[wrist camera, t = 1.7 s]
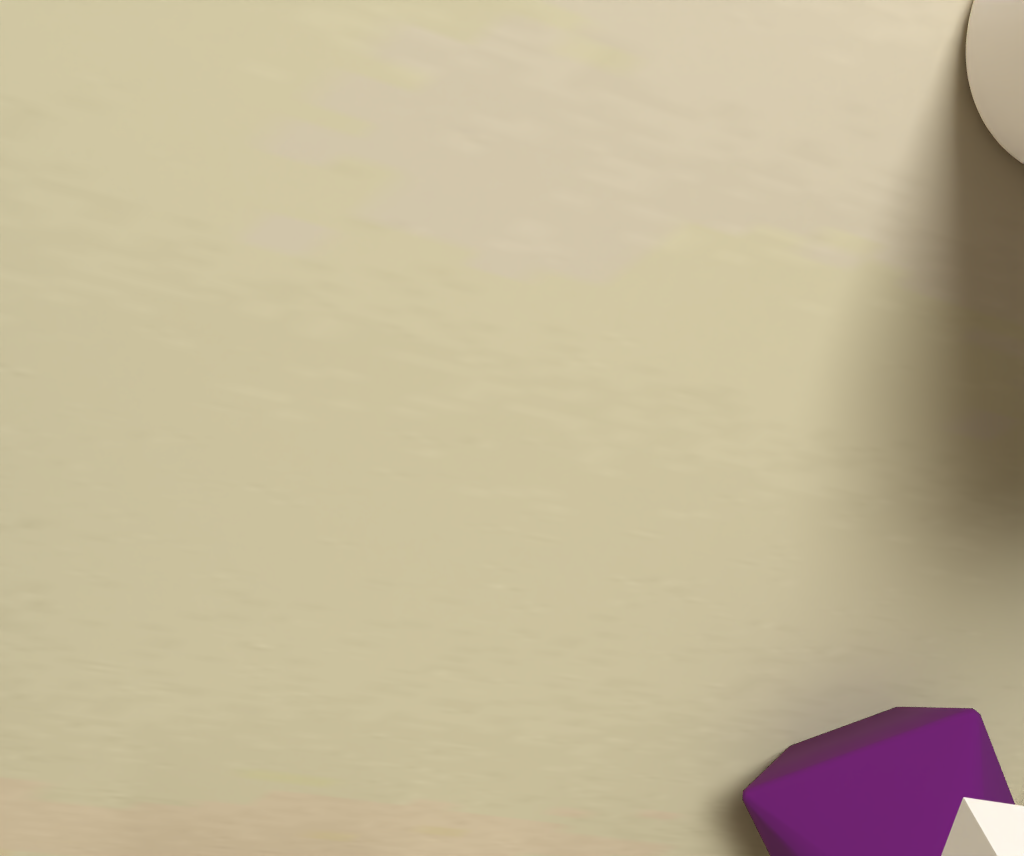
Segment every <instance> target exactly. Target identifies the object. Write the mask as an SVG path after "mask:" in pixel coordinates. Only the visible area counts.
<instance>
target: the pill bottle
mask: <svg viewBox="0 0 1024 856" xmlns="http://www.w3.org/2000/svg"><path fill="white" fill-rule="evenodd" d="M966 66H967V75H968V81H969V85H970V90H971V93H972V97H973V100H974V102H975V105H976V107H977V110H978V112H979V114H980V116H981V118H982V120H983V122H984V124H985V125H986V127H987V128H988V130H989V131H990V133H991V134H992V135H993V137H994V138H995V139H996V140H997V142H998V143H999V144H1000V145H1001V146H1002V147H1003V148H1004V149H1005V150H1006V151H1007V152H1008V153H1009V154H1011V155H1012V156H1013V157H1014V158H1016V159H1017V160H1018V161H1020V162H1021V163H1023V164H1024V0H974V1H973V5H972V9H971V13H970V17H969V22H968V29H967V38H966Z"/></svg>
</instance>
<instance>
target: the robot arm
mask: <svg viewBox="0 0 1024 856" xmlns="http://www.w3.org/2000/svg"><path fill="white" fill-rule="evenodd" d="M941 856H1024V806H1020V805H1013V804H1006V803H999V802H993V801H986V800H979V799H973V798H966V797H963V799H962V802H961V805H960V807H959V810H958V812H957V815H956V818H955V820H954V823H953V826H952V828H951V831H950V834H949V836H948V839H947V842H946V844H945V847H944V849H943V852H942V855H941Z"/></svg>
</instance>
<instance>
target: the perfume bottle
mask: <svg viewBox="0 0 1024 856" xmlns="http://www.w3.org/2000/svg"><path fill="white" fill-rule="evenodd" d="M963 797H966V798H973V799H979V800H986V801H993V802H999V803H1006V804H1013V805H1015V803H1014V801H1013V798H1012V795H1011V793H1010V790H1009V788H1008V785H1007V783H1006V780H1005V777H1004V775H1003V772H1002V770H1001V767H1000V764H999V762H998V759H997V757H996V754H995V752H994V749H993V746H992V744H991V741H990V739H989V736H988V733H987V731H986V728H985V726H984V723H983V721H982V718H981V715H980V714H979V713H978V712H977V711H976V710H974V709H973V708H927V707H895V708H893V709H890V710H887V711H884V712H882V713H879V714H876V715H873V716H871V717H868V718H865V719H862V720H860V721H857V722H854V723H851V724H849V725H846V726H843V727H841V728H838V729H835V730H832V731H830V732H827V733H824V734H821V735H819V736H816V737H813V738H810V739H808V740H805V741H802V742H799V743H797V744H794V745H791V746H790V747H789V748H787V749H786V750H785V751H784V752H783V753H782V754H781V755H780V756H779V757H778V758H777V759H776V760H775V761H774V762H773V763H772V764H771V765H770V766H769V767H768V768H767V769H766V770H764V771H763V772H762V773H761V774H760V775H759V776H758V777H757V778H756V779H755V780H754V781H753V782H752V783H751V784H750V785H749V786H748V787H747V788H746V789H745V790H744V791H743V802H744V804H745V806H746V808H747V810H748V812H749V814H750V816H751V818H752V820H753V822H754V824H755V826H756V828H757V830H758V832H759V834H760V836H761V838H762V840H763V842H764V844H765V846H766V848H767V850H768V852H769V854H770V856H941V855H942V852H943V849H944V847H945V844H946V842H947V839H948V836H949V834H950V831H951V828H952V826H953V823H954V820H955V818H956V815H957V812H958V810H959V807H960V805H961V802H962V799H963Z"/></svg>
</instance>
